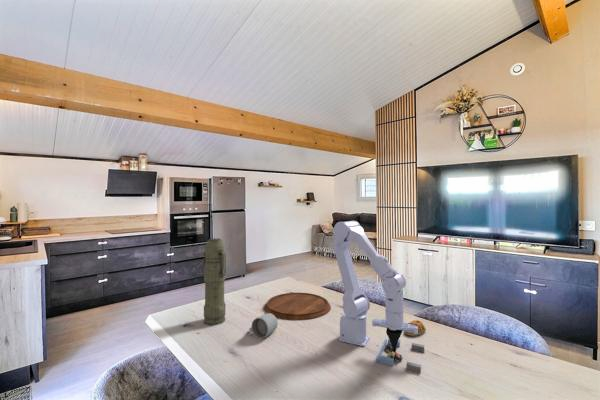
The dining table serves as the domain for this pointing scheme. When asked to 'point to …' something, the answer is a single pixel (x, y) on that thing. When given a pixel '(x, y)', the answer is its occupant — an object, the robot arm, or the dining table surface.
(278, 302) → the cutting board
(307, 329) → the dining table surface
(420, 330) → the pastry
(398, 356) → the composite cable
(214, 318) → the thermos
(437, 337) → the dining table surface
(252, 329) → the ceramic mug
